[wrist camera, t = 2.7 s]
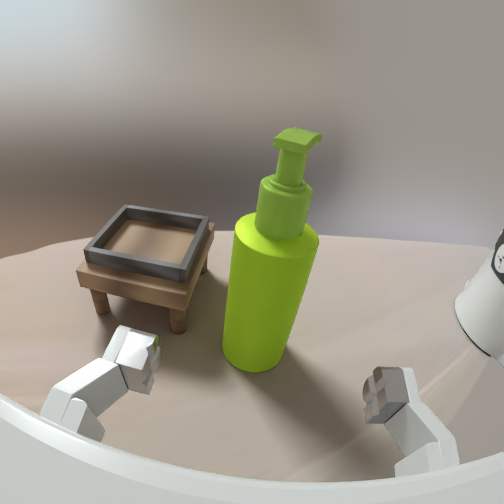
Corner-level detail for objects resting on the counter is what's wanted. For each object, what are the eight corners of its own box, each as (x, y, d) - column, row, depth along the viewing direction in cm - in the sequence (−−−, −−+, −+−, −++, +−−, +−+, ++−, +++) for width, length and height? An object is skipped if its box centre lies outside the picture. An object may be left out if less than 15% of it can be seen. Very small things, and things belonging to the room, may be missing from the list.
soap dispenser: (293, 330, 31) (351, 137, 20) (269, 382, 26) (338, 158, 14) (241, 310, 33) (272, 117, 21) (211, 356, 27) (230, 131, 16)
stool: (211, 264, 38) (215, 211, 34) (186, 339, 28) (185, 281, 24) (131, 250, 38) (126, 198, 34) (89, 314, 28) (72, 257, 24)
